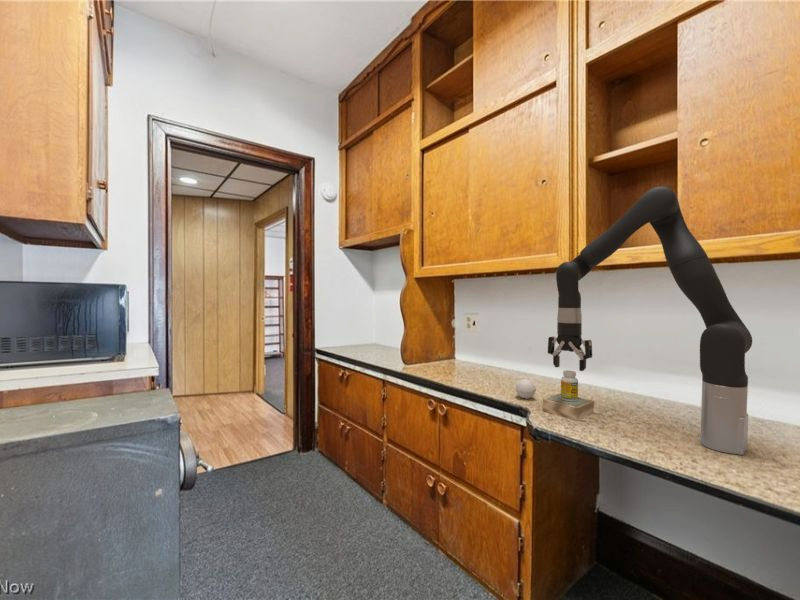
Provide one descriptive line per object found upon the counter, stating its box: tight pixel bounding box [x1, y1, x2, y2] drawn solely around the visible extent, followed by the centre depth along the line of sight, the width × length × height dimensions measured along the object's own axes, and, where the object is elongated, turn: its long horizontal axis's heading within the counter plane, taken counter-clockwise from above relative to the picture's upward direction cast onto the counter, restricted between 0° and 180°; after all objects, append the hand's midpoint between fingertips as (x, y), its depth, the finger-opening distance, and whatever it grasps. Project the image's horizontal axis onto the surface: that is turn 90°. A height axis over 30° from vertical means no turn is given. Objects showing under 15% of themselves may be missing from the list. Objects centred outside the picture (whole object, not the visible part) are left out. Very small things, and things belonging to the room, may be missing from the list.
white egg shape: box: [514, 378, 537, 400], centre depth 146 cm, size 10×7×7 cm
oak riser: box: [542, 392, 595, 421], centre depth 129 cm, size 12×12×4 cm
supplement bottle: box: [560, 370, 579, 402], centre depth 129 cm, size 5×5×10 cm
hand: (569, 368), depth 129 cm, fingers open, 8 cm apart
